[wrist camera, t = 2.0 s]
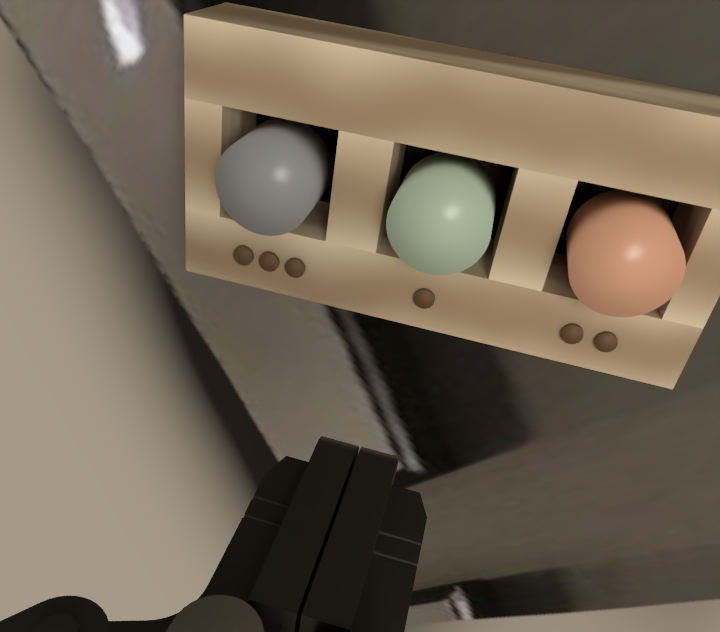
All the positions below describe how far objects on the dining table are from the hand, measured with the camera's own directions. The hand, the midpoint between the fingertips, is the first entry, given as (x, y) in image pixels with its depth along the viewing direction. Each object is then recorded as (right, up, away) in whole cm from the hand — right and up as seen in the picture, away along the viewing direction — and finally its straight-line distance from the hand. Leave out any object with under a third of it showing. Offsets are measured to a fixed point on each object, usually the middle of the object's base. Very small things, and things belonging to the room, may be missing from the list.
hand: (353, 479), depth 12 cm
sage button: (+4, +8, +15) cm, 18 cm away
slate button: (-3, +10, +16) cm, 19 cm away
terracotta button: (+11, +6, +14) cm, 19 cm away
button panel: (+4, +9, +17) cm, 20 cm away
